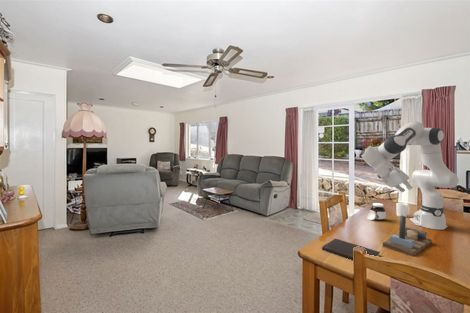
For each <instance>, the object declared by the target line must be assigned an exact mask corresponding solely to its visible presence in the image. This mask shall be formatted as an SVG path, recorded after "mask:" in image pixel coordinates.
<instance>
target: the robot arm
mask: <svg viewBox="0 0 470 313" xmlns="http://www.w3.org/2000/svg"><path fill="white" fill-rule="evenodd" d="M444 139H445V133H444V131H443V129H441V128H440V127H425V126H424V125H423V123H422V122H420V121H410V122H407V124H405V125H402V126H401V127H400V128H399V129H397V131H396V133H394V135H390V136H388V137H387V138H386V139H385V140H384V141H383V142H382V143H381V144H380V145H379V146H371V145H368V146H367V147H366V148H365V149H364V150H362V152H361V155H360V157H361V158H362V160H364V162H365V163H366V164H367V165H369V166H370V167H371V168H373V170H374V172H375V173H376V176H377V178H378V179H380V180H381V181H382V182H383V183H384V184H385V185H387V186H388V187H389V188H395V189H397V190H399V191H400V192H401V193H403V192H405V191H406V189H407V190H409V191H410V190H412V189H414V188H413V186H412V185H411V184H410V182H409V181H408V180H410V176H409V175H408V174H406V172H404V171H403V170H402V169H400V168H398V167H396V166H395V165H394V164H393V163H392V162H391V160H392V159H394V158H395V157H396V156H397V155H399V154H400V153H402V152H404V151H405V150H406V148H407V145H408V146H411V145H412V146H419V154H420V162H421V164H422V165H424V166H425V167H426V168H428V169H415V170H414V171H413V172H412V174H411V179H412V181H413V182H414V184H416V185H417V186H418V188H419V189H420V192H421V196H422V198H421V200H422V201H421V204H420V208H419V209H418V210H417V211H415V212H414V213H413V217H410V218H409V220H410V222H412V223H413V224H414V225H416V226H418V227H422V228H427V229H431V230H446V229H447V228H448V225H447V222H446V215H445V214H444V213H445V207H444V196H443V194H442V193H440V192H439V191H438V190H436V188H442V189H448V188H449V189H453V188H455V187H457V186H458V185H459V181H460V179H459V176H458V175H457V174H456V173H455V172H453V171H452V170H450V169H449V168H448V167H447V165H446V164H445V163H444V158H443V153H442V146H441V143H442V142H443V141H444ZM401 184H403V185H404V186H405V187H406V189H405V188H404V187H402V186H401Z"/></svg>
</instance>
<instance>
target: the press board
mask: <svg viewBox="0 0 470 313" xmlns="http://www.w3.org/2000/svg"><path fill="white" fill-rule="evenodd" d="M407 230H413V231H416V232H418V240H415V241H414V247H413V248H412V249H411V248H408V247H405V246H401V245H398V244H395V243H392V242H390V238H389V239H387V240H385V241H384V242H382V247H383V248H387V249H389V250H393V251H396V252H398V253H402V254H405V255H407V256H408V255H409V256H411V257H414V256H416V255H418V253H420V252H421V251H423V250H424V249H425V248H427V247H428V246H429V245H431V243H432V239H430V238H427V233H428V232H426V231H423V230H420V229H419V230H418V229H415V228H412V227H411V228H410V227H407V226H405V238H407ZM397 235H398V236H399V234H397Z"/></svg>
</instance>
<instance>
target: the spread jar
mask: <svg viewBox="0 0 470 313" xmlns="http://www.w3.org/2000/svg"><path fill="white" fill-rule="evenodd" d="M365 214H366V215H365V216H366V218H367V220H369V221H381V222H382V221H384V220H385V219H386V216H387V215H386V214H387V211H386V208H385V206H384V204H383V203H381V202H380V203H379V202H374V203H373V202H372V206H371V207H370V209H369V211H367V212H366V213H365Z"/></svg>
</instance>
